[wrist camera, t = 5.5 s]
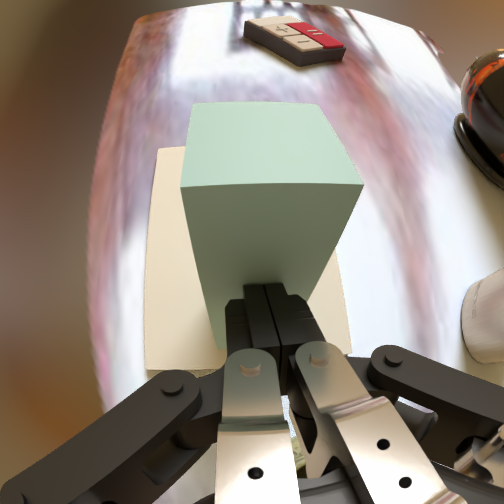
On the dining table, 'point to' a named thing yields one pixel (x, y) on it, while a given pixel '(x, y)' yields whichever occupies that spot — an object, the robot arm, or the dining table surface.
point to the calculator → (294, 40)
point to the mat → (189, 288)
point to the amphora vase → (484, 115)
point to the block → (263, 198)
